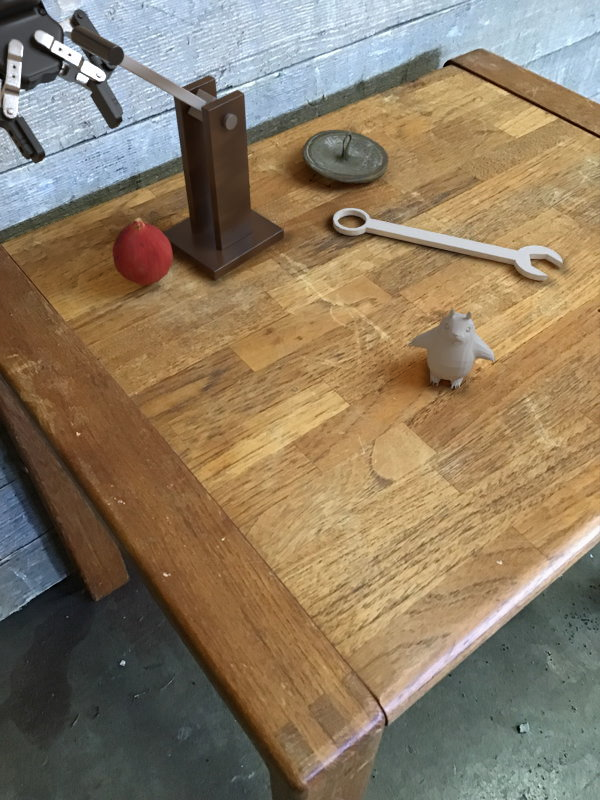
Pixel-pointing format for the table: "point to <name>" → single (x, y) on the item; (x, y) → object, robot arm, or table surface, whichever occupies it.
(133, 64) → the silver and black bar
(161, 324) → the table surface
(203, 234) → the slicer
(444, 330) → the figurine
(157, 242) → the onion
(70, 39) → the robot arm
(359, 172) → the lid
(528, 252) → the wrench
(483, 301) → the table surface
